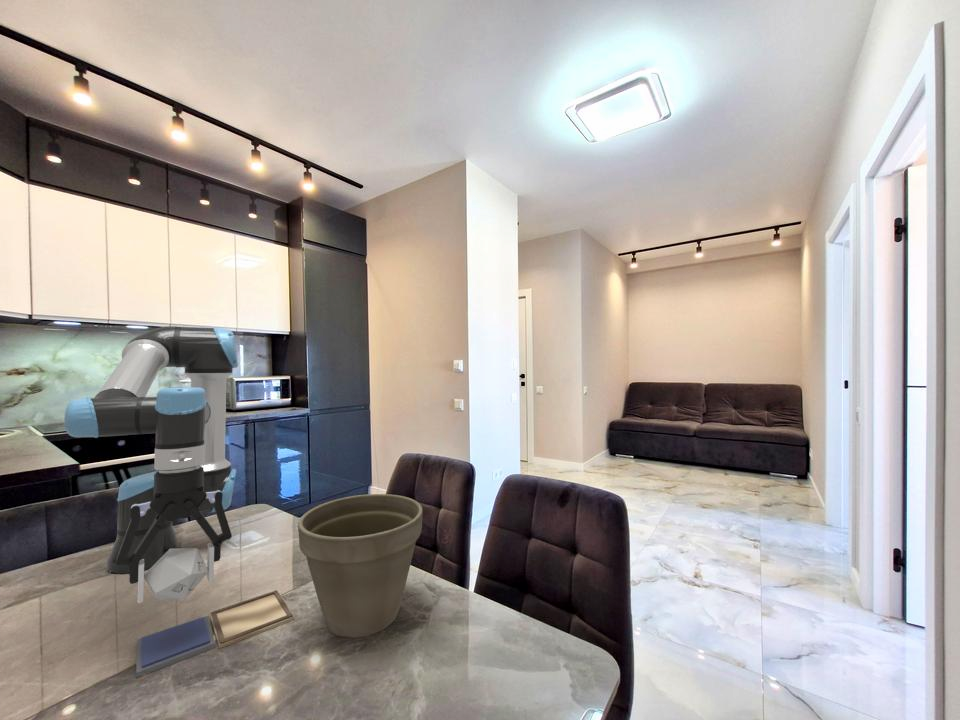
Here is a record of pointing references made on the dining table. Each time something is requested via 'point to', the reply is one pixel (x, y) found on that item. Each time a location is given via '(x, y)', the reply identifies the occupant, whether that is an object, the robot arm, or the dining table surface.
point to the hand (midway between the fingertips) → (176, 588)
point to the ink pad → (173, 645)
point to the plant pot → (360, 558)
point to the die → (176, 574)
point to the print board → (249, 618)
